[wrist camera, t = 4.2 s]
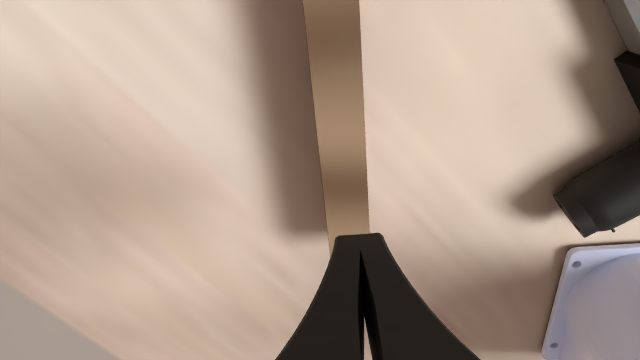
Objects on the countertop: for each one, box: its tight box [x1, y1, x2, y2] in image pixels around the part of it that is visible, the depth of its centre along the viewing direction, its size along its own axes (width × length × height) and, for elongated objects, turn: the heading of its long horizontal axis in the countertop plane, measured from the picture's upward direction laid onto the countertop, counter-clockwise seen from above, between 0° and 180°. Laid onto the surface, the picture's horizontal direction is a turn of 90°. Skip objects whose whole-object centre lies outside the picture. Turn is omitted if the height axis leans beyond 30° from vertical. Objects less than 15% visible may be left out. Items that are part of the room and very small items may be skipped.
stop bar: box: [303, 0, 370, 258], centre depth 17 cm, size 22×2×3 cm, turn 5°
